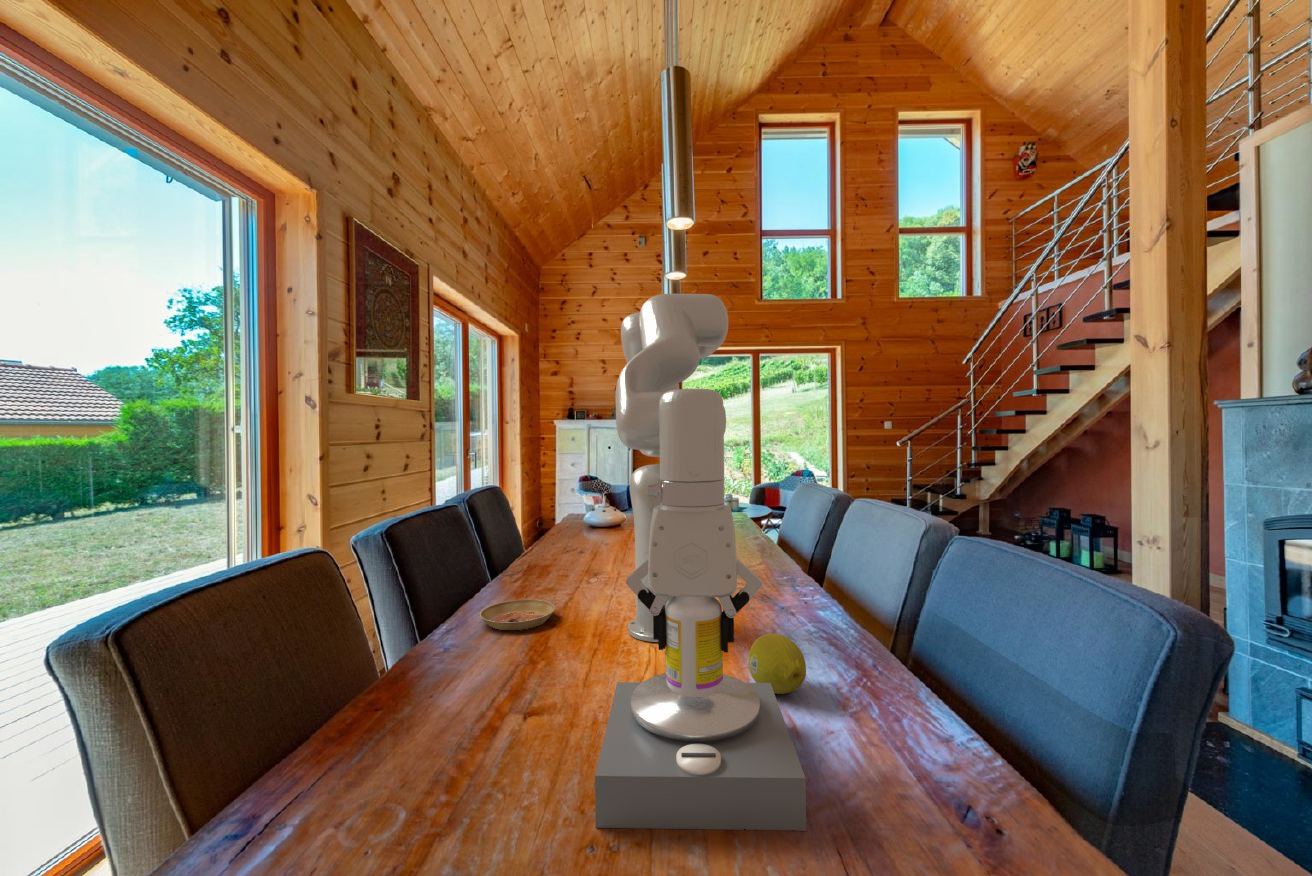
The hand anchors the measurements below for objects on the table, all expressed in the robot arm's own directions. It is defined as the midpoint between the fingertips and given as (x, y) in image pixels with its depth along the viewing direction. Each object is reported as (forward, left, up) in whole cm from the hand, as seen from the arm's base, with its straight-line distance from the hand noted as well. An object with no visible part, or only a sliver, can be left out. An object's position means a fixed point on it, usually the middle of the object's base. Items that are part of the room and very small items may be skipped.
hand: (693, 645), depth 66 cm
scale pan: (0, 0, -7) cm, 7 cm away
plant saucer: (-14, -55, -13) cm, 59 cm away
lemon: (-20, 0, -13) cm, 24 cm away
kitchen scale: (+2, +2, -13) cm, 13 cm away
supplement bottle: (0, 0, -5) cm, 5 cm away
